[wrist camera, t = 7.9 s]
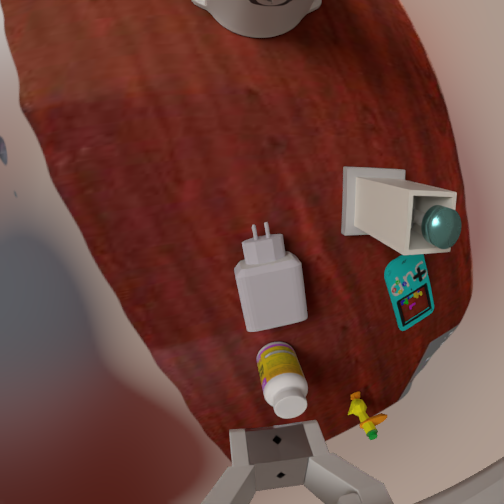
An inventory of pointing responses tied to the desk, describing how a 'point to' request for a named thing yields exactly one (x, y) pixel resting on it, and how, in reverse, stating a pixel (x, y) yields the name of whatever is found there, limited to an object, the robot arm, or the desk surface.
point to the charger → (270, 283)
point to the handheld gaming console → (408, 286)
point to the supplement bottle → (282, 379)
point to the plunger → (438, 225)
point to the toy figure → (365, 416)
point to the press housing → (389, 207)
